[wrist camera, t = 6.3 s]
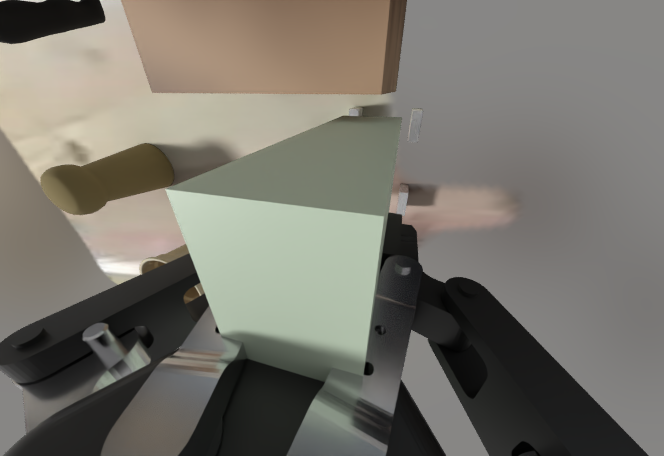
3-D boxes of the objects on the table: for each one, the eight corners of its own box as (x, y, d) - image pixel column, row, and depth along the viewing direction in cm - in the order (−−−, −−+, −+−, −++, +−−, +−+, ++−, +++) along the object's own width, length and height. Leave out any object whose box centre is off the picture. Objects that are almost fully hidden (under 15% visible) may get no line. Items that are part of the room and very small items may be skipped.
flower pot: (191, 259, 40) (144, 296, 33) (188, 214, 35) (132, 247, 28) (240, 281, 40) (203, 323, 33) (244, 239, 35) (201, 278, 27)
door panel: (343, 115, 12) (165, 189, 3) (418, 117, 12) (463, 226, 2) (339, 263, 17) (266, 454, 8) (391, 273, 17) (373, 496, 7)
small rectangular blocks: (354, 107, 22) (349, 109, 20) (421, 108, 21) (423, 110, 19) (350, 199, 27) (345, 208, 25) (404, 205, 25) (404, 215, 23)
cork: (177, 162, 31) (80, 192, 22) (170, 195, 34) (84, 234, 25) (136, 133, 30) (20, 152, 21) (133, 170, 34) (32, 200, 24)
